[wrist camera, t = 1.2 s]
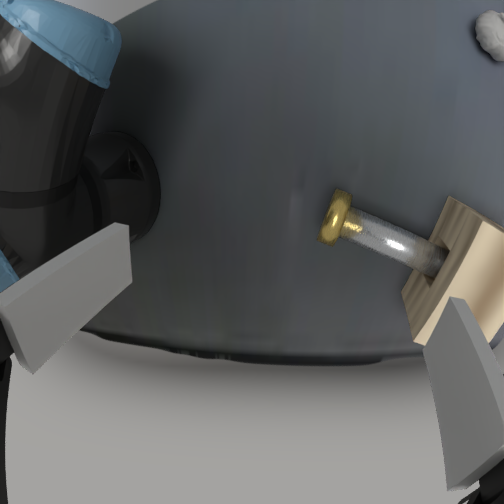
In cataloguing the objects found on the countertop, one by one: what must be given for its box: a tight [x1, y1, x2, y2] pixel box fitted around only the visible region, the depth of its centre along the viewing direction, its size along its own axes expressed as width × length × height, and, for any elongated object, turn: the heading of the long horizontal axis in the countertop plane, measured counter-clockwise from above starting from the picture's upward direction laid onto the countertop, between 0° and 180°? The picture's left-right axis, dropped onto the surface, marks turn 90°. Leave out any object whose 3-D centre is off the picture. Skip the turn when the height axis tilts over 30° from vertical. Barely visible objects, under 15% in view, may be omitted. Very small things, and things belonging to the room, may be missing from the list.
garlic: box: [475, 10, 504, 62], centre depth 15 cm, size 6×5×5 cm
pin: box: [317, 188, 450, 278], centre depth 26 cm, size 14×5×5 cm, turn 73°
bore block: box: [401, 196, 504, 345], centre depth 24 cm, size 8×12×9 cm, turn 163°
